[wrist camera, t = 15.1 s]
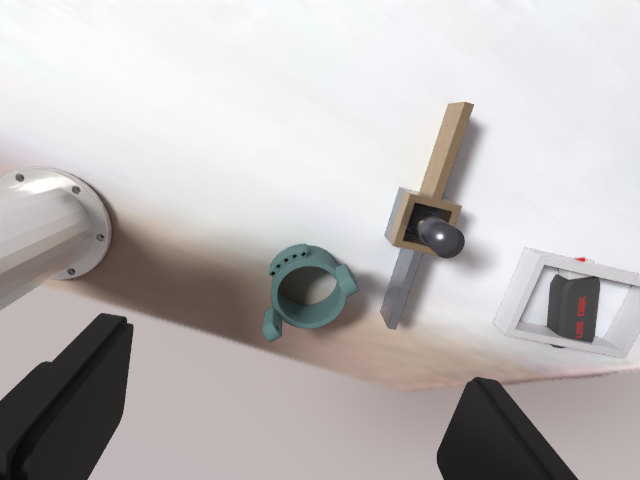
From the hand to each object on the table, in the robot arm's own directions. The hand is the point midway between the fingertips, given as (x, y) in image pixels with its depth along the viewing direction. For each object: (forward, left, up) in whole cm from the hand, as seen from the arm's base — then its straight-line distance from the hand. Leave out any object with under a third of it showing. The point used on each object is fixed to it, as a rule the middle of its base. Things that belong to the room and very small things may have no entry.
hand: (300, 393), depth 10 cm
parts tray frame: (+39, -6, -33) cm, 51 cm away
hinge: (+15, 0, -33) cm, 36 cm away
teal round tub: (+4, -10, -33) cm, 35 cm away
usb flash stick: (+39, -6, -34) cm, 52 cm away
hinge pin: (+15, 0, -33) cm, 36 cm away
